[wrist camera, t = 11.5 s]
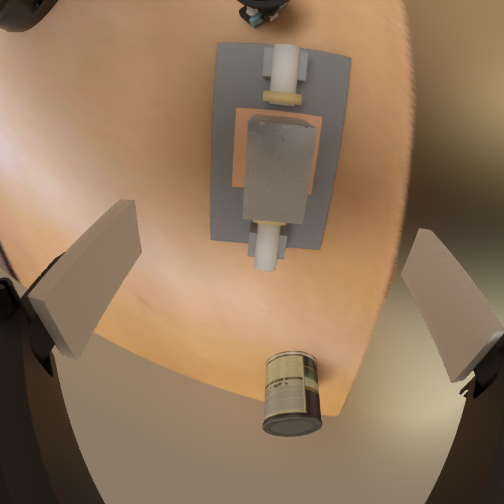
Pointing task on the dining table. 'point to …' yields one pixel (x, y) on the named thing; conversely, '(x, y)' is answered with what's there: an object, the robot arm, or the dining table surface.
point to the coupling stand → (280, 104)
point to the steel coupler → (277, 168)
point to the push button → (260, 10)
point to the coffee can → (291, 395)
